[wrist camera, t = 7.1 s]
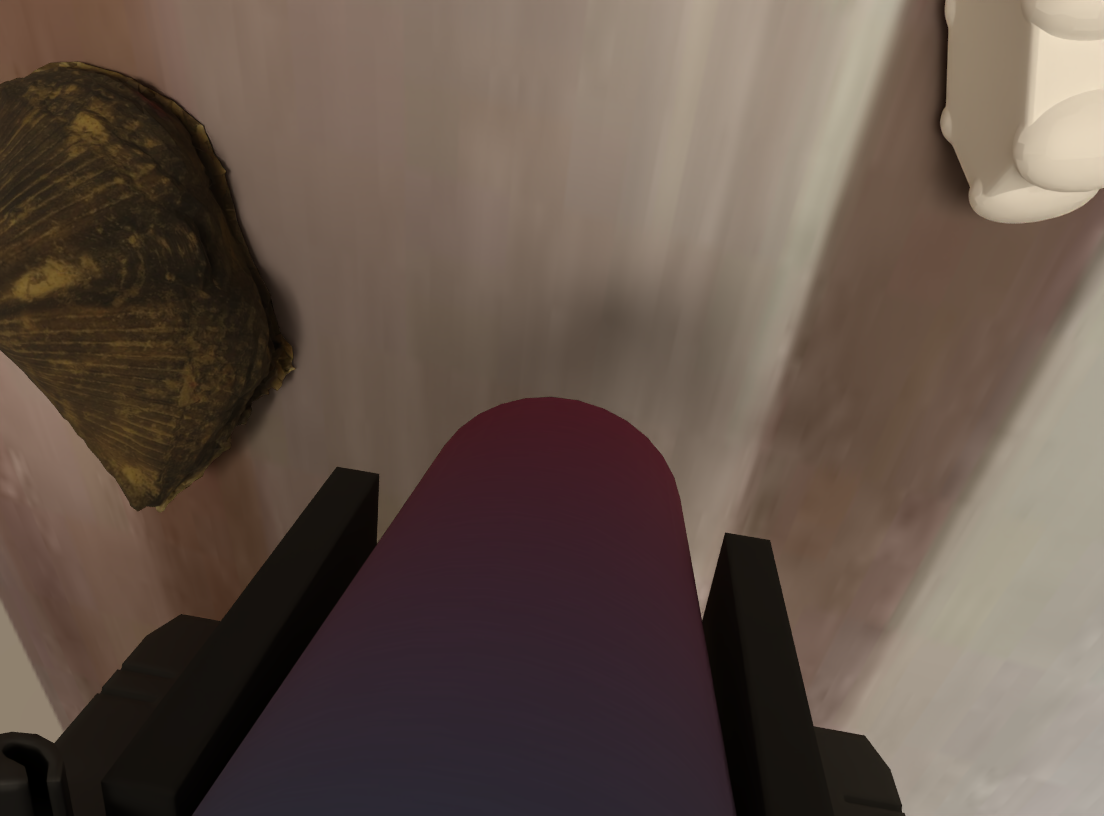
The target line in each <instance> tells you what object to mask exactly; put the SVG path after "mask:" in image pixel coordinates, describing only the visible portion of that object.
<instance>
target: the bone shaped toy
mask: <svg viewBox="0 0 1104 816" xmlns="http://www.w3.org/2000/svg"><path fill="white" fill-rule="evenodd" d="M945 18H946V22H947V25H948V59H947V90H946V107H945V108H944V110H943V112H942V115H941V119H940V126H941V130H942V133H943V135H944V137H945V138H946V139H947V140H948V142H949V143H951V144H952V145H953V148H954V150H955V153H956V155H957V157H958V160H959V162H960V164H961V167H962V169H963V171H964V174H965V176H966V178H967V181H968V183H969V185H970V190H969V195H968V196H969V203H970V205H971V207H972V209H973V210H974V211H975V212H976V213H977V214H978V215H980V216H982V217H983V218H985V219H988V220H991V221H995V222H1000V223H1029V222H1037V221H1042V220H1046V219H1051V218H1055V217H1058V216H1062V215H1064V214H1067V213H1069V212H1072V211H1074V210H1075V209H1077V208H1079V207H1081V206H1083V205H1084V204H1085V203H1087V202H1088V201H1089V200H1090V199H1092V198H1093V197H1094V196H1095V195H1096V193H1097V192H1098V190H1099V189H1101V188H1104V0H946V1H945Z"/></svg>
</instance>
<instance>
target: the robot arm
mask: <svg viewBox="0 0 1104 816" xmlns="http://www.w3.org/2000/svg"><path fill="white" fill-rule="evenodd" d="M378 496H379V474H377V473H371V472H365V471H359V470H353V469H347V468H341V467H336V468H335V470H334V471H333V472H332V474H331V475H330V476H329V478H328V479H327V480H326V482H325V483H324V484H323V486H322V487H321V488H320V490H319V491H318V492H317V494H316V495H315V496H314V498H313V499H312V500H311V502H310V503H309V504H308V506H307V507H306V508H305V510H304V511H303V512H302V514H301V515H300V516H299V518H298V519H297V520H296V522H295V523H294V524H293V526H292V527H291V528H290V530H289V531H288V532H287V534H286V535H285V536H284V538H283V539H282V540H281V542H280V543H279V544H278V546H277V547H276V548H275V550H274V551H273V552H272V554H271V555H270V556H269V558H268V559H267V560H266V562H265V563H264V564H263V566H262V567H261V568H260V570H259V571H258V572H257V574H256V575H255V576H254V578H253V579H252V580H251V582H250V583H249V584H248V586H247V587H246V588H245V590H244V591H243V592H242V594H241V595H240V596H239V598H238V599H237V600H236V602H235V603H234V604H233V606H232V607H231V608H230V610H229V611H228V612H227V614H226V615H225V616H224V618H223V619H222V620H221V621H216V620H211V619H205V618H200V617H194V616H189V615H183V614H181V615H179V616H177V617H176V618H174V619H173V620H171V621H169V622H168V623H166V624H165V625H163V626H161V627H160V628H158V629H157V630H155V631H153V632H152V633H150V634H149V635H147V636H146V637H145V638H144V639H143V640H142V642H141V643H140V644H139V645H138V646H137V647H136V649H135V650H134V651H133V652H132V653H131V654H130V656H129V657H128V658H127V659H126V660H125V661H124V663H123V664H122V668H121V670H117V671H116V672H115V673H114V674H113V675H112V677H111V678H110V679H109V680H108V681H107V682H106V684H105V685H104V686H103V687H102V691H101V693H100V694H99V693H97V694H96V695H95V696H94V698H93V699H92V700H91V701H90V702H89V703H88V705H87V706H86V707H85V708H84V709H83V710H82V712H81V713H80V714H79V715H78V716H77V717H76V719H75V720H74V721H73V722H72V723H71V724H70V726H69V727H68V728H67V729H66V730H65V731H64V733H63V734H62V735H61V736H60V737H59V739H58V740H57V741H56V742H55V743H53V742H51V741H49V740H47V739H45V738H43V737H41V736H39V735H38V734H29V733H18V732H9V733H3V734H0V816H192V815H193V813H194V812H195V810H196V809H197V807H198V806H199V804H200V803H201V801H202V800H203V798H204V797H205V796H206V794H207V793H208V791H209V790H210V788H211V787H212V785H213V784H214V782H215V781H216V779H217V778H218V776H219V775H220V774H221V772H222V771H223V769H224V768H225V766H226V765H227V763H228V762H229V760H230V759H231V757H232V756H233V755H234V753H235V752H236V750H237V749H238V747H239V746H240V744H241V743H242V741H243V740H244V738H245V737H246V735H247V734H248V733H249V731H250V730H251V728H252V727H253V725H254V724H255V722H256V721H257V719H258V718H259V716H260V715H261V714H262V712H263V711H264V709H265V708H266V706H267V705H268V703H269V702H270V700H271V699H272V697H273V696H274V694H275V693H276V692H277V690H278V689H279V687H280V686H281V684H282V683H283V681H284V680H285V678H286V677H287V675H288V674H289V672H290V671H291V670H292V668H293V667H294V665H295V664H296V662H297V661H298V659H299V658H300V656H301V655H302V653H303V652H304V651H305V649H306V648H307V646H308V645H309V643H310V642H311V640H312V639H313V637H314V636H315V634H316V633H317V631H318V630H319V629H320V627H321V626H322V624H323V623H324V621H325V620H326V618H327V617H328V615H329V614H330V612H331V611H332V610H333V608H334V607H335V605H336V604H337V602H338V601H339V599H340V598H341V596H342V595H343V593H344V592H345V590H346V589H347V588H348V586H349V585H350V583H351V582H352V580H353V579H354V577H355V576H356V574H357V573H358V571H359V570H360V568H361V567H362V566H363V564H364V563H365V561H366V560H367V558H368V557H369V555H370V554H371V552H372V551H373V549H374V548H375V547H376V545H377V521H378ZM702 623H703V629H704V635H705V640H706V646H707V651H708V657H709V663H710V668H711V674H712V679H713V685H714V691H715V696H716V702H717V707H718V713H719V719H720V724H721V730H722V735H723V741H724V746H725V752H726V758H727V763H728V769H729V774H730V780H731V786H732V791H733V797H734V802H735V808H736V814H737V816H905V813H902V804H901V801H900V798H899V795H898V792H897V789H896V785H895V782H894V779H893V776H892V773H891V770H890V768H889V767H888V766H887V764H886V763H885V762H884V760H883V759H882V758H881V756H880V755H879V754H878V753H877V751H876V750H875V749H874V747H873V746H872V745H871V743H870V742H869V741H868V739H867V738H866V737H865V736H864V735H858V734H853V733H847V732H842V731H836V730H831V729H825V728H820V727H814V726H813V722H812V718H811V713H810V709H809V705H808V701H807V696H806V692H805V688H804V684H803V679H802V675H801V671H800V666H799V662H798V658H797V654H796V649H795V645H794V641H793V636H792V632H791V628H790V624H789V619H788V615H787V611H786V607H785V602H784V598H783V594H782V589H781V585H780V581H779V577H778V572H777V568H776V564H775V560H774V555H773V551H772V547H771V542H770V540H766V539H760V538H754V537H748V536H742V535H736V534H731V533H725V535H724V539H723V543H722V547H721V551H720V554H719V558H718V562H717V566H716V570H715V574H714V578H713V581H712V585H711V589H710V593H709V597H708V601H707V605H706V609H705V612H704V616H703V620H702Z"/></svg>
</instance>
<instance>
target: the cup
mask: <svg viewBox="0 0 1104 816" xmlns="http://www.w3.org/2000/svg"><path fill="white" fill-rule="evenodd" d="M192 816H737V814H736V808H735V802H734V797H733V791H732V786H731V780H730V774H729V769H728V763H727V758H726V752H725V746H724V741H723V735H722V730H721V724H720V719H719V713H718V707H717V702H716V696H715V691H714V685H713V679H712V674H711V668H710V663H709V657H708V651H707V646H706V640H705V635H704V629H703V623H702V618H701V612H700V607H699V601H698V596H697V590H696V584H695V579H694V573H693V568H692V562H691V556H690V551H689V545H688V540H687V534H686V528H685V523H684V517H683V512H682V506H681V500H680V496H679V493H678V489H677V486H676V482H675V478H674V476H673V474H672V472H671V470H670V469H669V467H668V465H667V463H666V461H665V459H664V457H663V456H662V455H661V453H660V452H659V451H658V450H657V449H656V447H655V446H654V445H653V444H652V443H651V441H650V440H649V439H648V438H647V437H646V436H645V435H644V434H642V433H641V432H640V431H639V430H637V429H636V428H635V427H634V426H632V425H631V424H630V423H629V422H628V421H626V420H624V419H622V418H620V417H618V416H617V415H615V414H613V413H611V412H609V411H607V410H605V409H603V408H600V407H597V406H594V405H591V404H588V403H585V402H582V401H578V400H571V399H563V398H556V397H541V398H525V399H520V400H516V401H512V402H508V403H504V404H500V405H498V406H496V407H494V408H491V409H489V410H487V411H485V412H483V413H480V414H478V415H477V416H476V417H474V418H473V419H472V420H470V421H469V422H467V423H466V424H465V425H463V426H462V427H461V428H459V429H458V431H457V432H456V433H455V434H454V435H453V436H452V437H451V439H450V440H449V441H448V442H447V443H446V444H445V445H444V447H443V448H442V450H441V451H440V453H439V454H438V456H437V457H436V459H435V460H434V462H433V463H432V465H431V466H430V467H429V469H428V470H427V472H426V473H425V475H424V476H423V478H422V479H421V481H420V482H419V484H418V485H417V486H416V488H415V489H414V491H413V492H412V494H411V495H410V497H409V498H408V500H407V501H406V503H405V504H404V506H403V507H402V508H401V510H400V511H399V513H398V514H397V516H396V517H395V519H394V520H393V522H392V523H391V525H390V526H389V527H388V529H387V530H386V532H385V533H384V535H383V536H382V538H381V539H380V541H379V542H378V544H377V545H376V547H375V548H374V549H373V551H372V552H371V554H370V555H369V557H368V558H367V560H366V561H365V563H364V564H363V566H362V567H361V568H360V570H359V571H358V573H357V574H356V576H355V577H354V579H353V580H352V582H351V583H350V585H349V586H348V588H347V589H346V590H345V592H344V593H343V595H342V596H341V598H340V599H339V601H338V602H337V604H336V605H335V607H334V608H333V610H332V611H331V612H330V614H329V615H328V617H327V618H326V620H325V621H324V623H323V624H322V626H321V627H320V629H319V630H318V631H317V633H316V634H315V636H314V637H313V639H312V640H311V642H310V643H309V645H308V646H307V648H306V649H305V651H304V652H303V653H302V655H301V656H300V658H299V659H298V661H297V662H296V664H295V665H294V667H293V668H292V670H291V671H290V672H289V674H288V675H287V677H286V678H285V680H284V681H283V683H282V684H281V686H280V687H279V689H278V690H277V692H276V693H275V694H274V696H273V697H272V699H271V700H270V702H269V703H268V705H267V706H266V708H265V709H264V711H263V712H262V714H261V715H260V716H259V718H258V719H257V721H256V722H255V724H254V725H253V727H252V728H251V730H250V731H249V733H248V734H247V735H246V737H245V738H244V740H243V741H242V743H241V744H240V746H239V747H238V749H237V750H236V752H235V753H234V755H233V756H232V757H231V759H230V760H229V762H228V763H227V765H226V766H225V768H224V769H223V771H222V772H221V774H220V775H219V776H218V778H217V779H216V781H215V782H214V784H213V785H212V787H211V788H210V790H209V791H208V793H207V794H206V796H205V797H204V798H203V800H202V801H201V803H200V804H199V806H198V807H197V809H196V810H195V812H194V813H193V815H192Z"/></svg>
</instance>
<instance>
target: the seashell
mask: <svg viewBox="0 0 1104 816" xmlns="http://www.w3.org/2000/svg"><path fill="white" fill-rule="evenodd" d="M225 173H226V170H225V169H224V168H223V167H222V166H221V164H220V162H219V160H218V159H217V158H216V156H215V155H214V152H213V150H212V147H211V145H210V142H209V139H208V137H207V135H206V133H205V130H204V127H203V126H202V125H201V124H200V123H199V122H197V121H196V120H195V119H194V118H193V117H191V116H190V115H189V114H188V113H186V112H185V111H184V110H183V109H182V108H180V107H179V106H178V105H177V104H176V103H175V102H173V101H172V100H170V99H167V98H165V97H163V96H162V95H160V94H158V93H156V92H155V91H153V90H151V89H149V88H147V87H145V86H142V85H141V84H140V83H138V82H137V81H135V80H134V79H132V78H128V77H125V76H123V75H121V74H119V73H116V72H113V71H109V70H105V69H102V68H98V67H94V66H91V65H87V64H83V63H81V62H61V63H49V64H47V65H45V66H43V67H41V68H39V69H37V70H35V71H34V72H33V73H32V74H30V75H28V76H26V77H25V78H16V79H13V80H11V81H6V82H4V83H2V84H0V350H1V351H2V352H3V353H4V354H5V355H6V356H7V357H8V358H10V359H11V360H12V361H13V362H14V363H15V364H16V365H17V366H18V367H19V368H20V369H21V370H22V371H23V372H24V373H25V374H26V375H27V376H28V378H29V379H30V380H31V381H32V382H33V383H34V384H35V385H36V386H37V387H38V388H39V389H40V390H41V391H42V392H43V393H44V395H45V396H46V397H47V398H48V399H49V400H50V401H51V403H52V404H53V405H54V406H55V407H56V409H57V410H58V411H59V413H60V414H61V415H62V417H63V418H64V419H66V420H67V421H69V423H70V424H71V426H72V427H73V429H74V430H75V432H76V433H77V435H78V436H80V437H81V438H82V439H84V441H85V443H86V445H87V446H88V448H89V449H90V450H91V451H92V452H93V453H94V454H95V455H96V457H97V458H98V459H99V460H100V461H101V463H102V464H103V466H104V467H105V469H106V470H107V471H108V472H109V473H110V474H111V475H112V476H113V477H114V478H115V479H116V481H117V482H118V484H119V486H120V487H121V489H122V491H123V492H124V494H125V496H126V497H127V499H128V501H129V503H130V506H131V507H133V508H134V509H135V510H137V511H140V510H142V509H143V508H145V507H146V506H149V507H155V508H156V510H157V511H158V512H163V511H164V510H165V508H166V507H167V505H168V504H169V503H170V502H171V501H172V500H174V498H175V497H176V495H177V494H178V493H180V492H181V491H183V490H184V489H186V488H187V487H189V486H190V485H191V484H192V483H193V482H194V481H195V480H197V479H199V478H201V477H202V476H203V474H204V471H205V469H207V468H208V466H209V465H210V464H211V463H212V461H213V460H214V459H215V458H217V457H219V456H220V455H221V454H222V453H223V452H224V451H226V450H228V449H230V447H231V433H232V432H233V429H234V428H235V427H236V426H238V425H241V424H246V423H247V421H248V418H249V417H250V415H251V411H252V408H251V404H252V402H253V401H255V400H257V399H258V398H260V397H261V396H263V395H269V389H270V388H274V389H275V390H277V391H278V389H279V388H280V387H281V386H282V382H283V379H284V378H285V376H286V375H287V374H288V373H289V372H291V371H292V370H295V369H296V368H294V367H293V366H292V360H293V351H292V346H291V345H290V344H289V343H288V342H287V341H286V340H285V339H284V337H283V336H282V334H281V332H280V329H279V326H278V323H277V320H276V317H275V314H274V310H273V306H272V301H271V295H270V293H269V291H268V289H267V288H266V286H265V284H264V282H263V280H262V278H261V276H260V274H259V272H258V270H257V268H256V267H255V265H254V263H253V260H252V258H251V255H250V253H249V250H248V248H247V245H246V243H245V240H244V237H243V235H242V232H241V230H240V227H239V225H238V222H237V220H236V213H235V208H234V205H233V201H232V198H231V194H230V191H229V187H228V184H227V181H226V177H225Z"/></svg>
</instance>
